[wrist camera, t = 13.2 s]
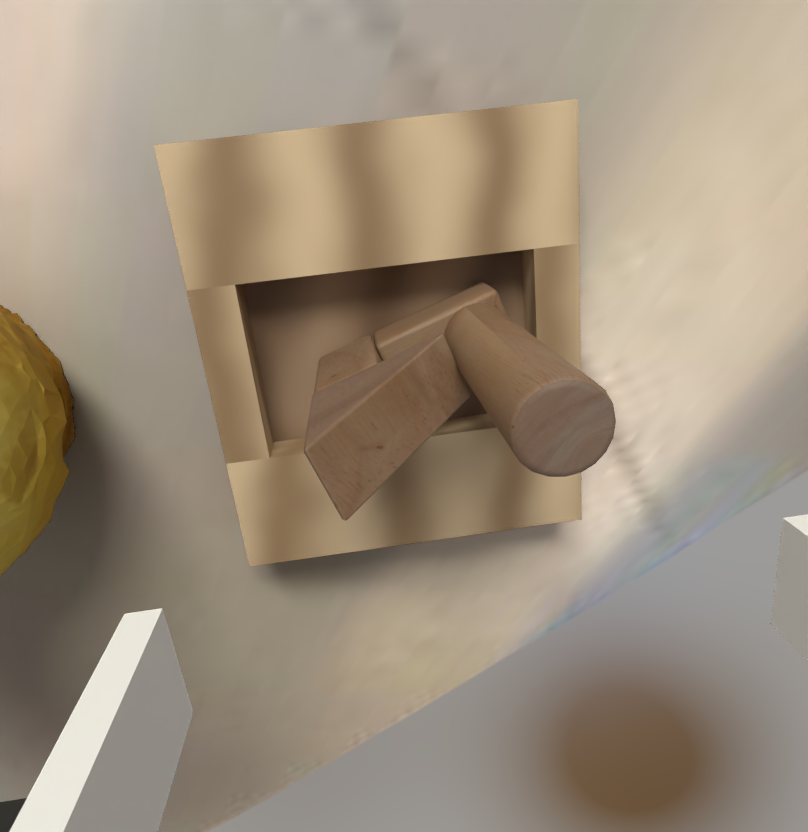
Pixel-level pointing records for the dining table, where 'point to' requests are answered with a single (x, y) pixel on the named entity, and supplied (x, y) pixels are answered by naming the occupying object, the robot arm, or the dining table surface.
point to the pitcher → (29, 435)
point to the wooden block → (449, 396)
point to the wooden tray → (373, 303)
